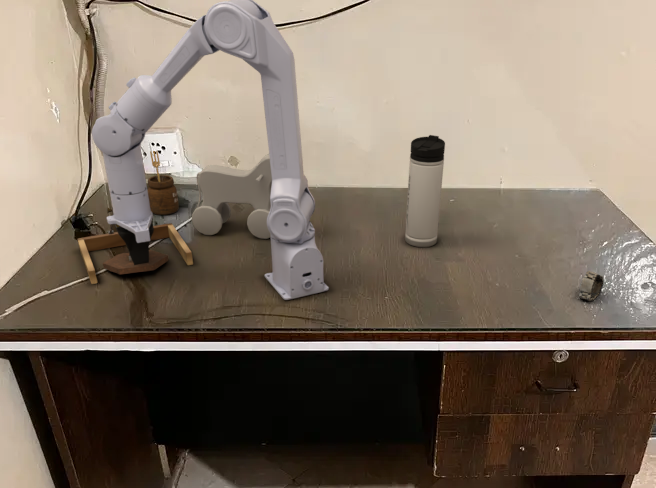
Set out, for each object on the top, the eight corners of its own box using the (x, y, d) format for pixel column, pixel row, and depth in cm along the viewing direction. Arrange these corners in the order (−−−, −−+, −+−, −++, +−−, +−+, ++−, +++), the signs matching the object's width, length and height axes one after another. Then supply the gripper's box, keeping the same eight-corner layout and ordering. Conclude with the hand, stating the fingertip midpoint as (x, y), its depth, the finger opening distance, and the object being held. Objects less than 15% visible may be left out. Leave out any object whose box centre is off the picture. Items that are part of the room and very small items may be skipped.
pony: (301, 224, 128) (299, 143, 119) (291, 245, 119) (288, 158, 110) (206, 218, 129) (197, 137, 121) (189, 238, 120) (178, 152, 112)
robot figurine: (169, 252, 114) (159, 188, 110) (172, 267, 106) (161, 198, 102) (104, 260, 111) (91, 194, 106) (102, 276, 103) (88, 205, 98)
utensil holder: (153, 217, 129) (144, 160, 123) (147, 207, 133) (138, 152, 127) (182, 213, 131) (175, 157, 125) (175, 203, 136) (168, 149, 130)
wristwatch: (595, 306, 104) (605, 279, 104) (587, 296, 100) (598, 268, 100) (577, 302, 106) (588, 275, 106) (569, 291, 102) (580, 264, 102)
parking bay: (193, 264, 110) (191, 251, 109) (91, 284, 103) (88, 271, 102) (173, 234, 121) (171, 222, 120) (79, 250, 114) (77, 238, 113)
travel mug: (441, 237, 123) (450, 137, 113) (430, 250, 118) (439, 146, 108) (412, 231, 126) (418, 132, 116) (400, 243, 120) (405, 141, 110)
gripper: (94, 178, 103) (109, 252, 110) (110, 208, 92) (124, 288, 99) (138, 173, 106) (149, 245, 113) (158, 201, 95) (169, 279, 102)
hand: (141, 265), depth 106 cm, fingers closed
